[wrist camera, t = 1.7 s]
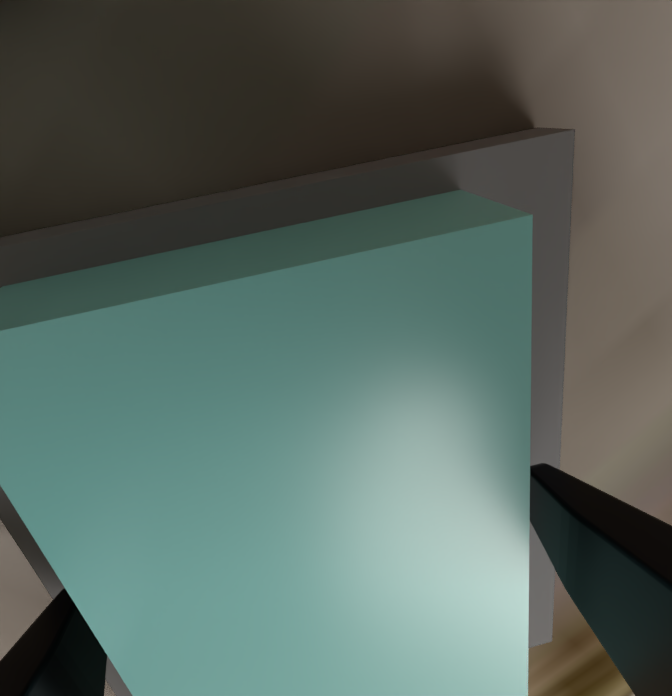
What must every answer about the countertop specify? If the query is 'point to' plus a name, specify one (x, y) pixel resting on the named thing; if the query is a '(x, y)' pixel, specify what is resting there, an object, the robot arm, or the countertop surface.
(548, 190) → the mat
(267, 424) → the lid
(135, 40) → the countertop surface
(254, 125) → the countertop surface
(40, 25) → the countertop surface
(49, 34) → the countertop surface
